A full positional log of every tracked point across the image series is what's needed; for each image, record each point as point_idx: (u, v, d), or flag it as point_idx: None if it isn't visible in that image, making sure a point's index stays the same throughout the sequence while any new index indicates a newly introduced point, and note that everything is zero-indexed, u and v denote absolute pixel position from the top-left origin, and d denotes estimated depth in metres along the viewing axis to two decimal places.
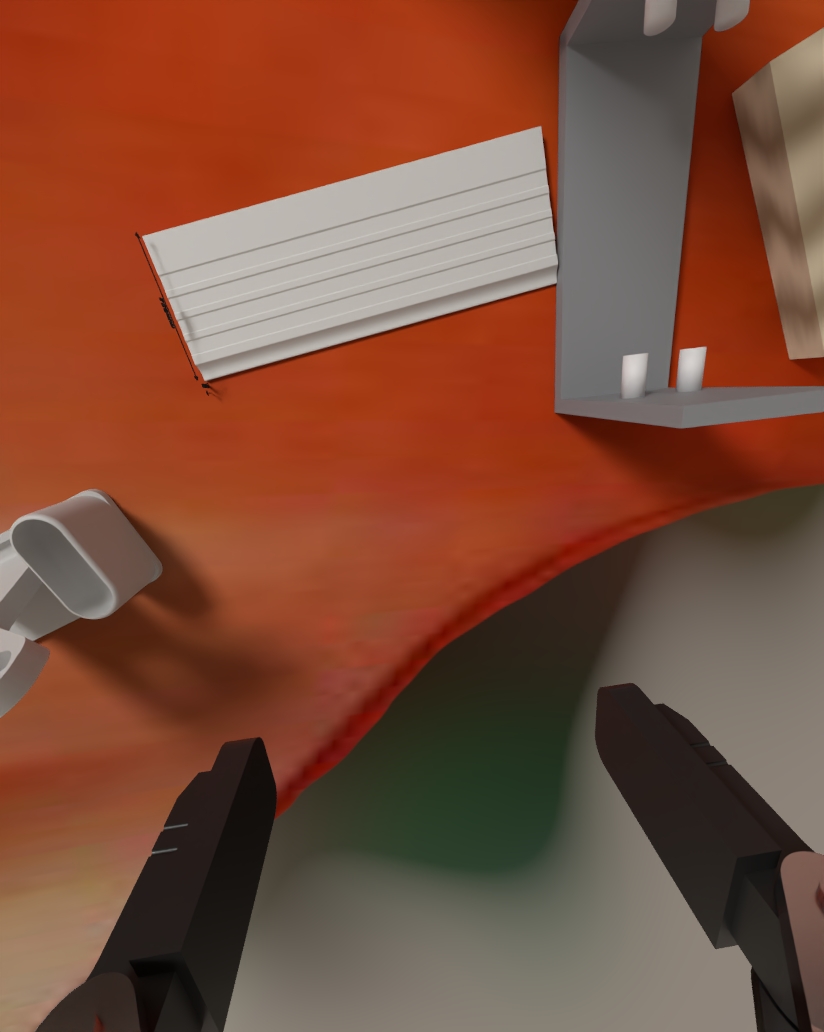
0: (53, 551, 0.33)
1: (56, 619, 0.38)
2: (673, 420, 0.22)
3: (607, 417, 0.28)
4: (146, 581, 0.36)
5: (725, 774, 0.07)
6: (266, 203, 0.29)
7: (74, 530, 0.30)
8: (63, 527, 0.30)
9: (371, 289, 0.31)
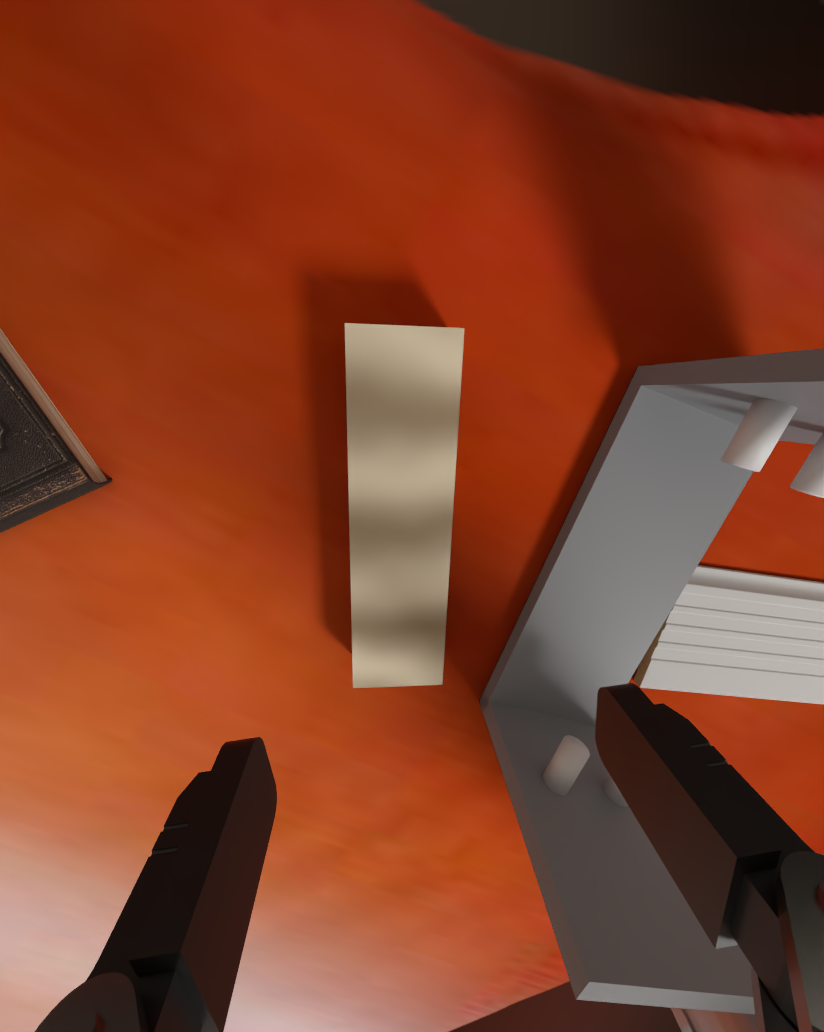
0: None
1: None
2: None
3: None
4: None
5: (725, 774, 0.07)
6: None
7: None
8: None
9: None
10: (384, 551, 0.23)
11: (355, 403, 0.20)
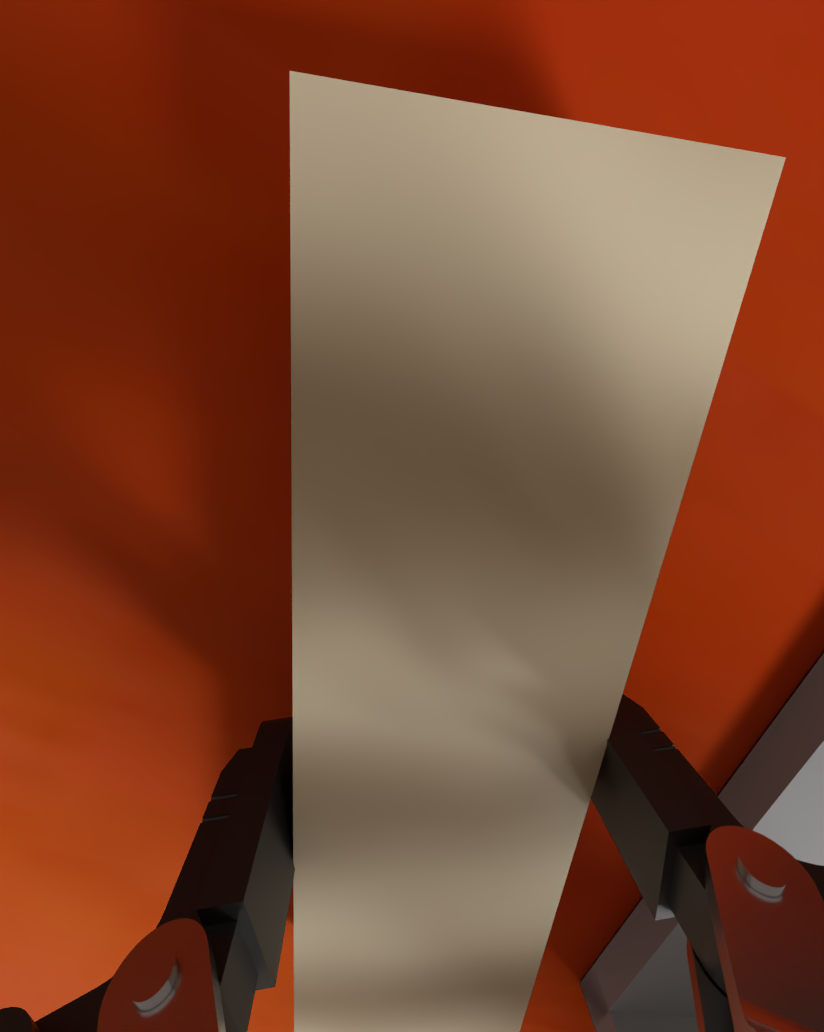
0: None
1: None
2: None
3: None
4: None
5: (671, 758, 0.07)
6: None
7: None
8: None
9: None
10: (395, 852, 0.08)
11: (325, 430, 0.05)
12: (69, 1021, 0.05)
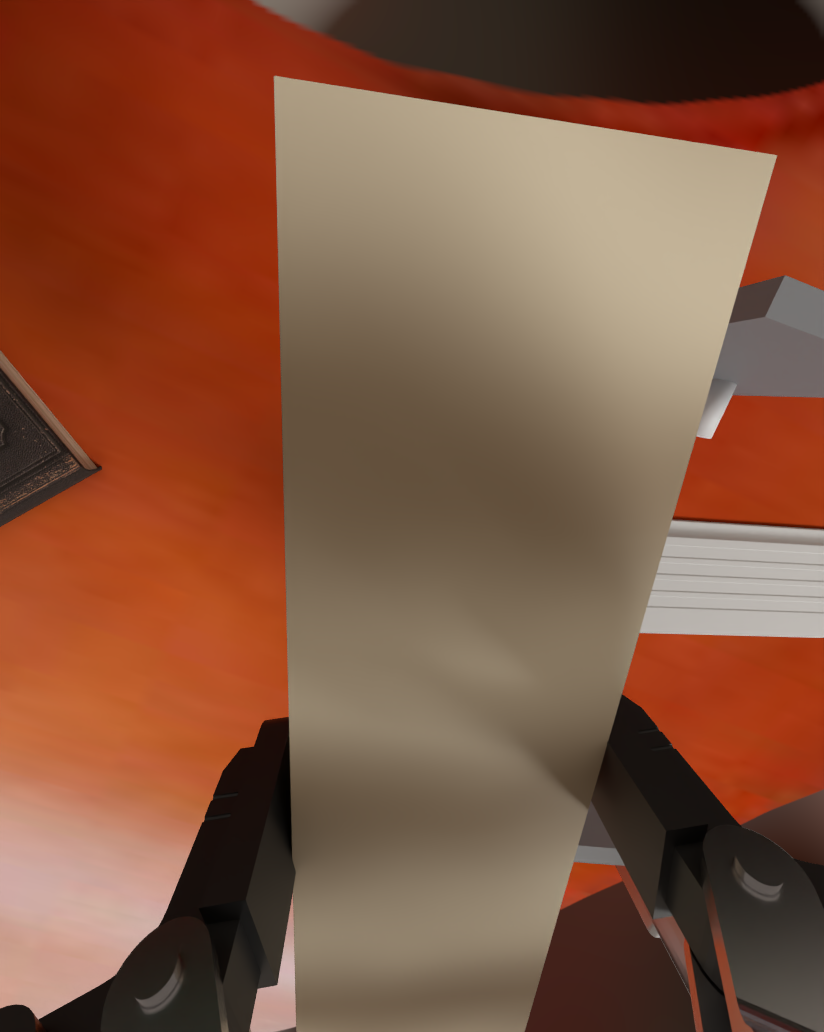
0: None
1: None
2: None
3: None
4: None
5: (669, 757, 0.08)
6: (800, 636, 0.37)
7: None
8: None
9: (775, 563, 0.34)
10: (394, 857, 0.08)
11: (317, 436, 0.05)
12: (73, 1018, 0.05)
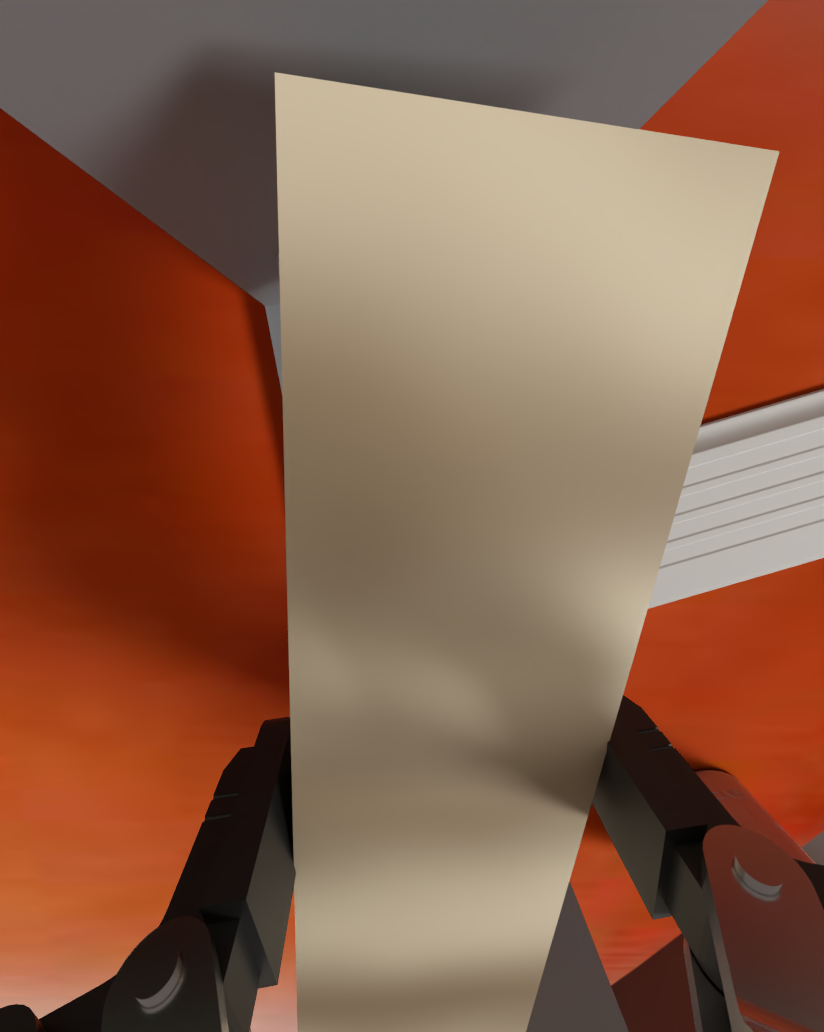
0: None
1: None
2: None
3: None
4: None
5: (669, 757, 0.08)
6: None
7: None
8: None
9: (754, 468, 0.22)
10: (395, 856, 0.08)
11: (318, 434, 0.05)
12: (73, 1018, 0.05)
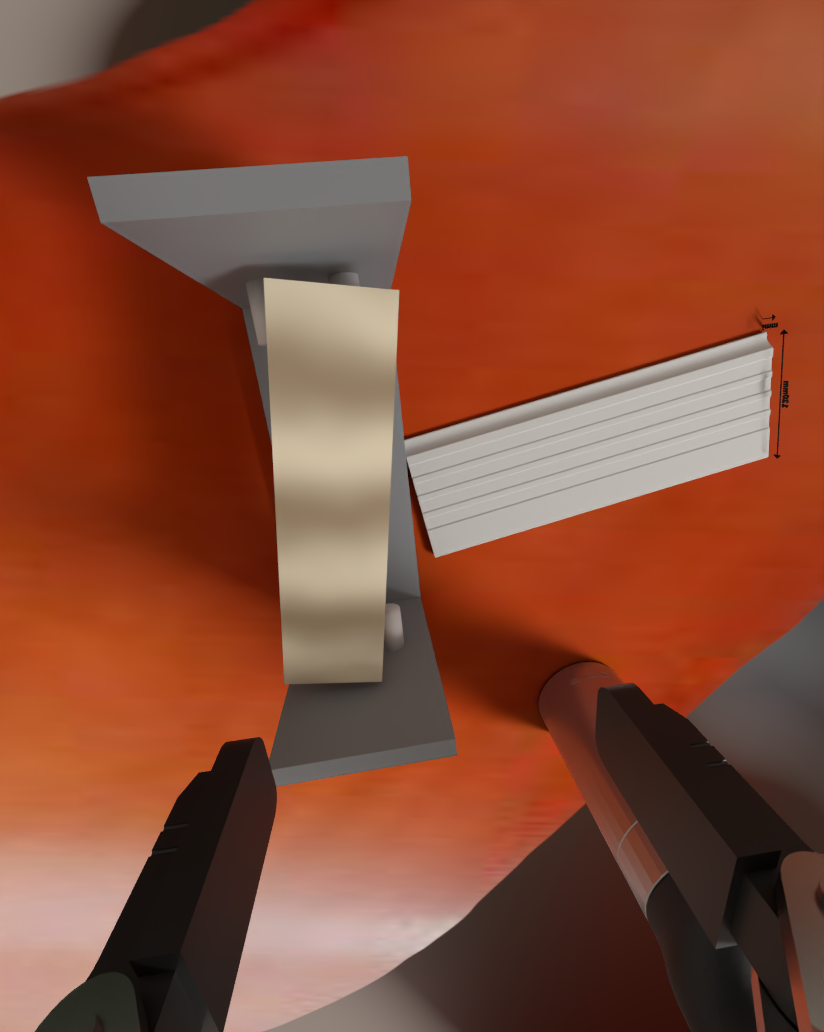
0: None
1: None
2: None
3: None
4: None
5: (725, 774, 0.07)
6: (665, 486, 0.34)
7: None
8: None
9: (592, 425, 0.32)
10: (315, 536, 0.21)
11: (278, 369, 0.18)
12: None
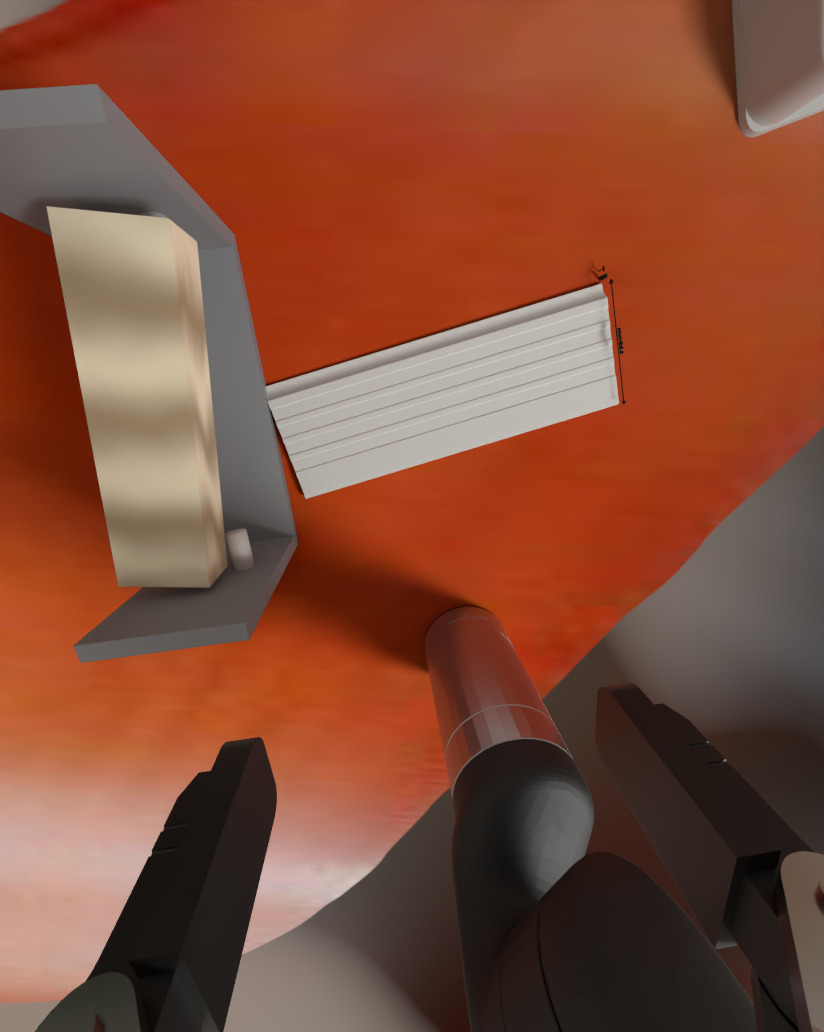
0: None
1: None
2: (110, 107, 0.16)
3: (182, 179, 0.23)
4: None
5: (725, 774, 0.07)
6: (521, 432, 0.37)
7: (812, 41, 0.26)
8: (822, 44, 0.25)
9: (441, 371, 0.35)
10: (126, 445, 0.24)
11: (71, 289, 0.21)
12: None
